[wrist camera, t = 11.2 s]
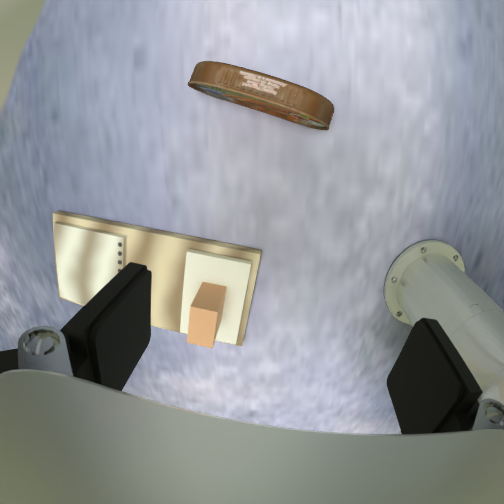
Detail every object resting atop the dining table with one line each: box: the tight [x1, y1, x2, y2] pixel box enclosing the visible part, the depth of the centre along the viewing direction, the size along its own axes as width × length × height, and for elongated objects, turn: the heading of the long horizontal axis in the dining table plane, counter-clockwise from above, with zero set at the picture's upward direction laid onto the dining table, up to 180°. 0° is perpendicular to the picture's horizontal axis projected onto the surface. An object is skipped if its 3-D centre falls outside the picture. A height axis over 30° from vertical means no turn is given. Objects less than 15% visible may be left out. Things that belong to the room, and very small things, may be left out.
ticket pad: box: [53, 211, 261, 346], centre depth 41 cm, size 30×14×3 cm, turn 80°
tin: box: [188, 61, 334, 130], centre depth 29 cm, size 15×3×8 cm, turn 71°
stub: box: [180, 249, 252, 348], centre depth 37 cm, size 8×12×7 cm, turn 170°
